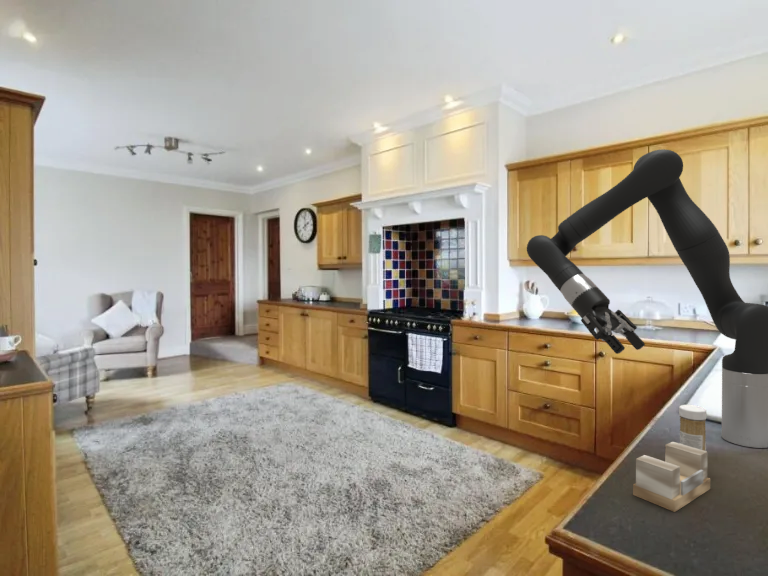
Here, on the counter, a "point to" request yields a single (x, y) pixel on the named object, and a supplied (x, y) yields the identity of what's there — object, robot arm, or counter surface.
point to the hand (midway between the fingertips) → (631, 349)
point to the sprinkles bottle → (692, 426)
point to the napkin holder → (672, 477)
